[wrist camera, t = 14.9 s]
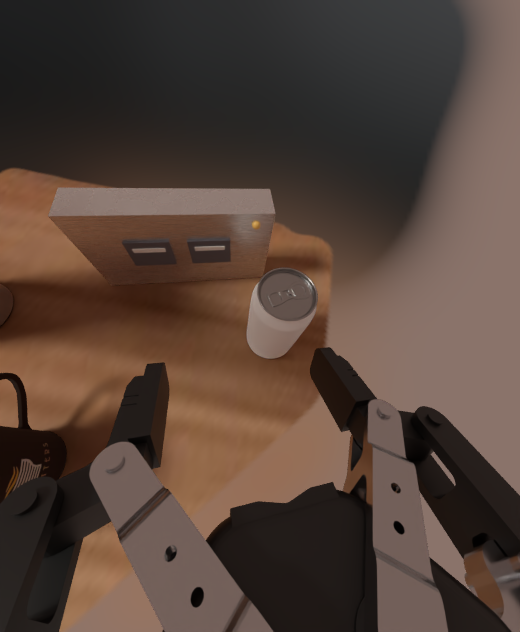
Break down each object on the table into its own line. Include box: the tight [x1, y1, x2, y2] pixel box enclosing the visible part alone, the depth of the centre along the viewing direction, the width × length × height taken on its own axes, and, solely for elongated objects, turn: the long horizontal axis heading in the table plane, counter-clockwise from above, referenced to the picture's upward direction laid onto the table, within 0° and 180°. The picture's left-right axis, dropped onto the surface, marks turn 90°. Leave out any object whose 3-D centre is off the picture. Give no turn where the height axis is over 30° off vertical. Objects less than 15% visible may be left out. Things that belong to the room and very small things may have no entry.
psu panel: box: [48, 188, 275, 285], centre depth 29 cm, size 22×4×12 cm, turn 98°
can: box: [247, 268, 318, 359], centre depth 26 cm, size 6×6×12 cm
